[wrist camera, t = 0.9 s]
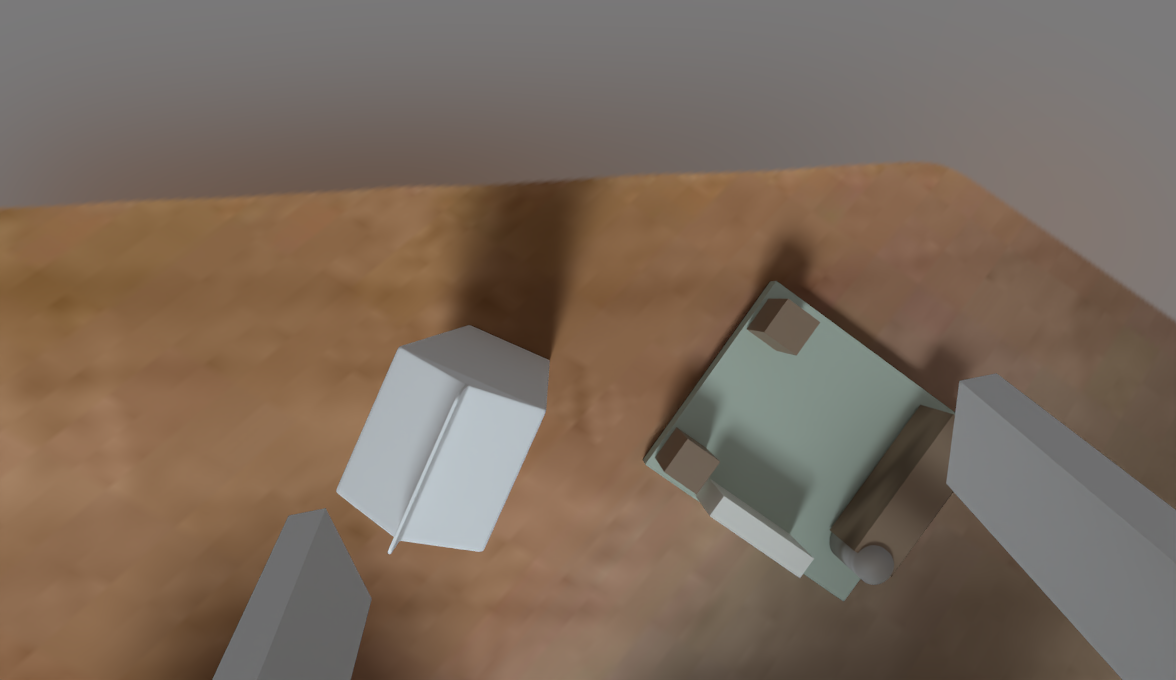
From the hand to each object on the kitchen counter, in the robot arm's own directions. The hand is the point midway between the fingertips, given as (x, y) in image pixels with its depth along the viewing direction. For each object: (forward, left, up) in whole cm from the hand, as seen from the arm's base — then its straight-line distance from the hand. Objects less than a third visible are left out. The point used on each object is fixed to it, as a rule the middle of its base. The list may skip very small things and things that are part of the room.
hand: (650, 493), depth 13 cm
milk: (+4, +5, -29) cm, 30 cm away
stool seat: (-16, -4, -29) cm, 33 cm away
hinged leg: (-22, -5, -28) cm, 36 cm away
